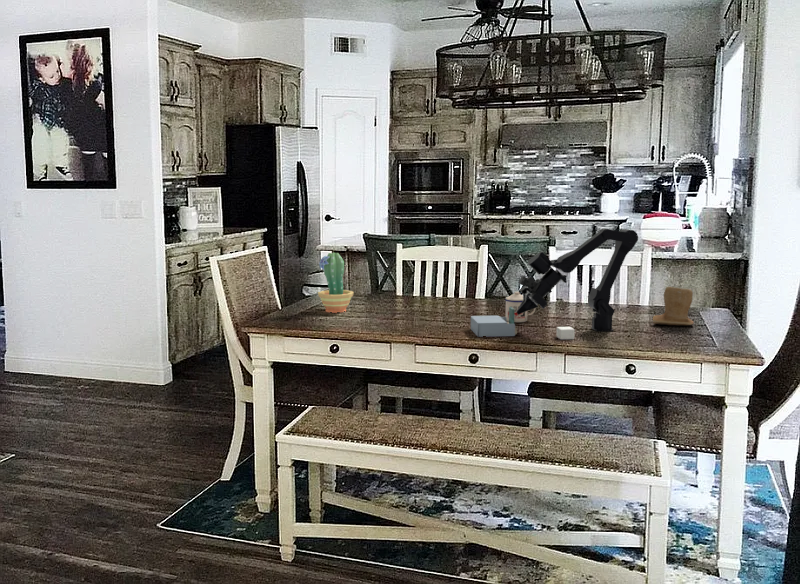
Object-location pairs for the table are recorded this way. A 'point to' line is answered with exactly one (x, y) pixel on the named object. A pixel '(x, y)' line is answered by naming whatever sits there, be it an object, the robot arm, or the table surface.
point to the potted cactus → (334, 284)
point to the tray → (511, 317)
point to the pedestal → (565, 333)
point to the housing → (491, 326)
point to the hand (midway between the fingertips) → (517, 313)
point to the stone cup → (675, 307)
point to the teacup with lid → (516, 307)
